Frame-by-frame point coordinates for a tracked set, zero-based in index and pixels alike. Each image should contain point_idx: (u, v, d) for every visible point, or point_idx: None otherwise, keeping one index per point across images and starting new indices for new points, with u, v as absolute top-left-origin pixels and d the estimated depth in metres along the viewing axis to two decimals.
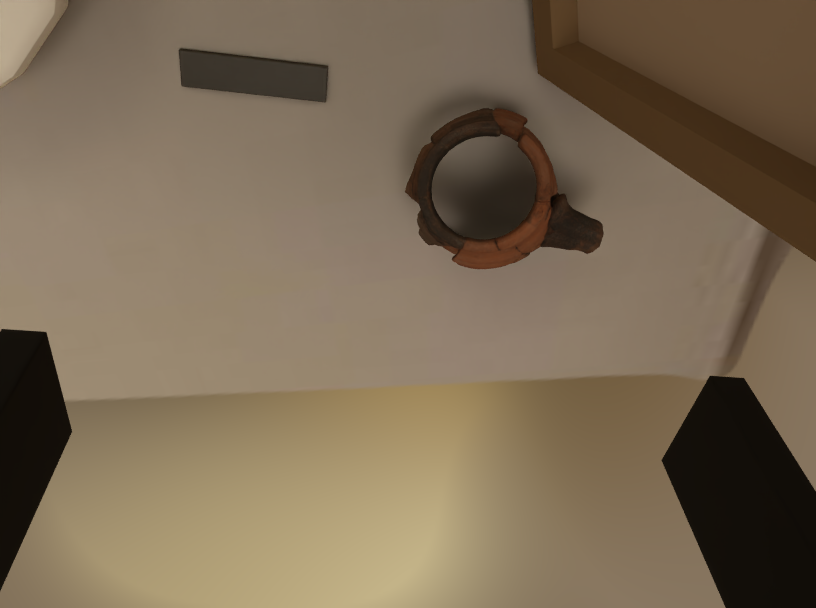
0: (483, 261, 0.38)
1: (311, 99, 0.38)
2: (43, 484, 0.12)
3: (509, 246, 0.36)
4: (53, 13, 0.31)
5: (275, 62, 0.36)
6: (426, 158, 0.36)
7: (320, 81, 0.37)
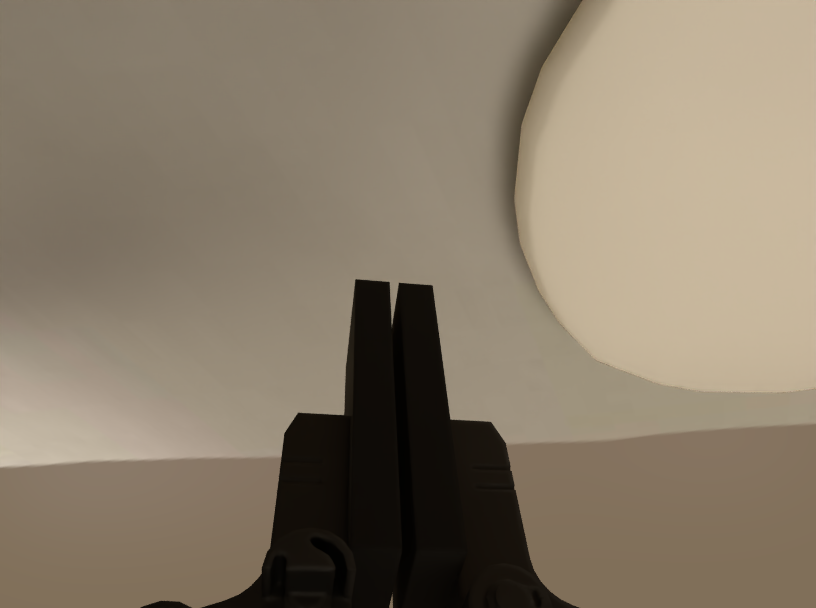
0: None
1: None
2: None
3: None
4: None
5: None
6: None
7: None
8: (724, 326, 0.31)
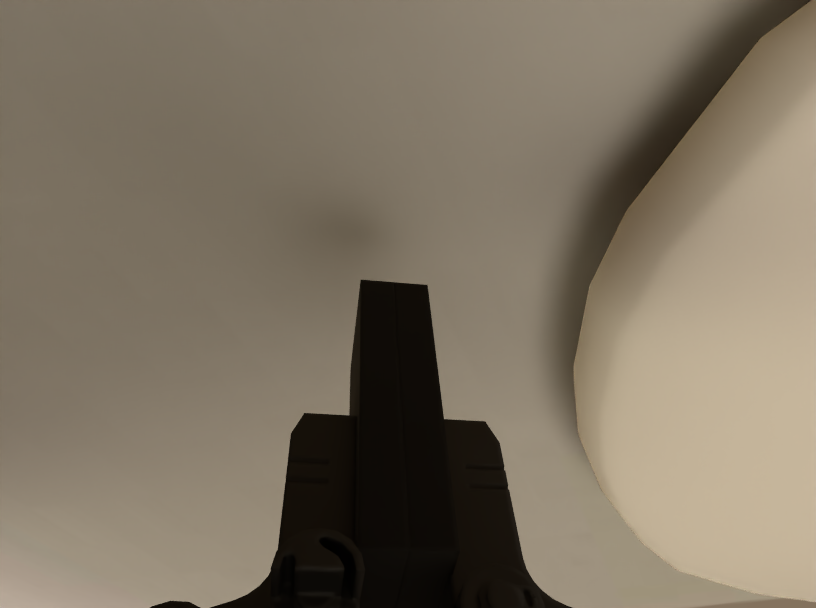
0: None
1: None
2: None
3: None
4: None
5: None
6: None
7: None
8: None
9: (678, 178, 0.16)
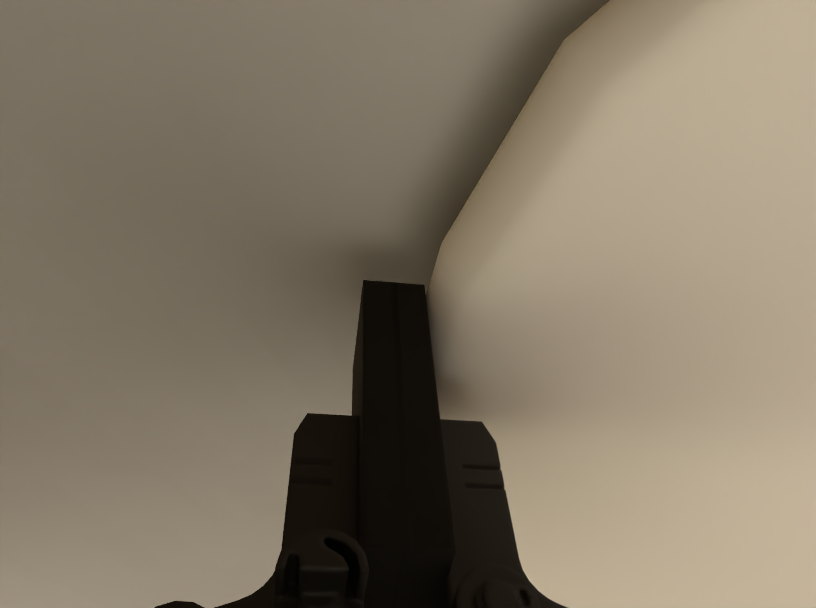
0: None
1: None
2: None
3: None
4: None
5: None
6: None
7: None
8: None
9: (478, 208, 0.13)
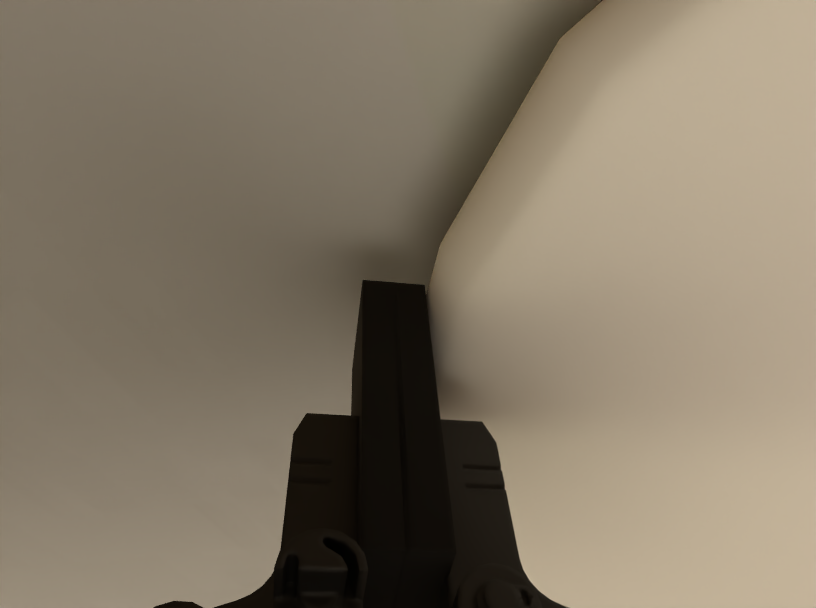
0: None
1: None
2: None
3: None
4: None
5: None
6: None
7: None
8: None
9: (476, 207, 0.13)
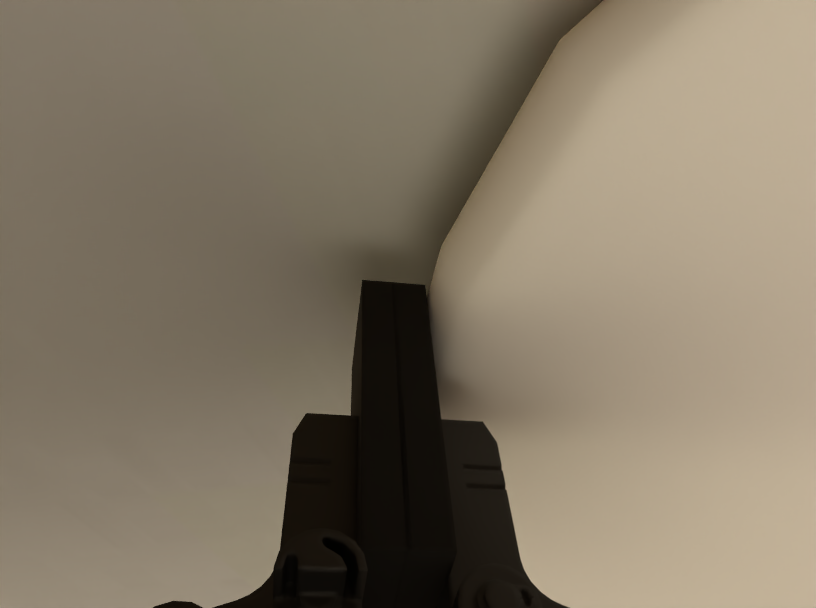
0: None
1: None
2: None
3: None
4: None
5: None
6: None
7: None
8: None
9: (477, 210, 0.13)
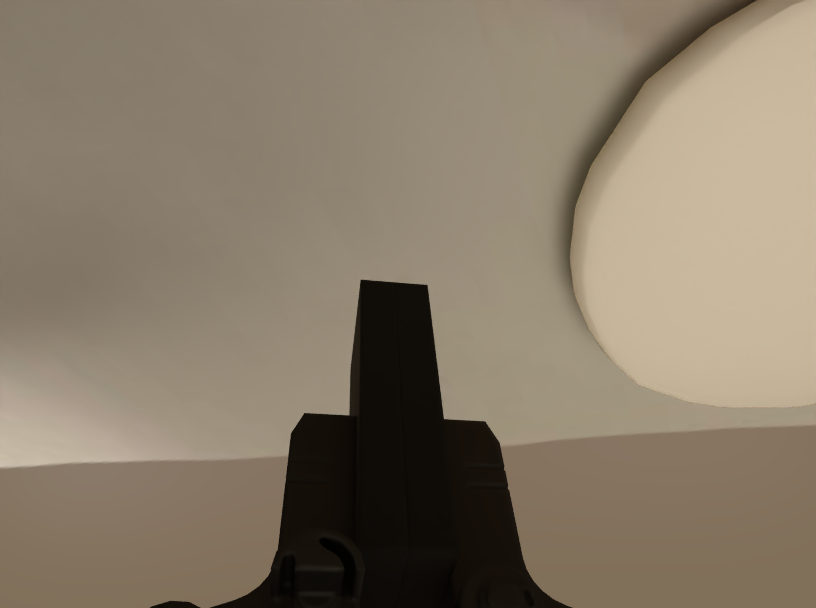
0: None
1: None
2: None
3: None
4: None
5: None
6: None
7: None
8: (740, 356, 0.39)
9: (612, 147, 0.33)
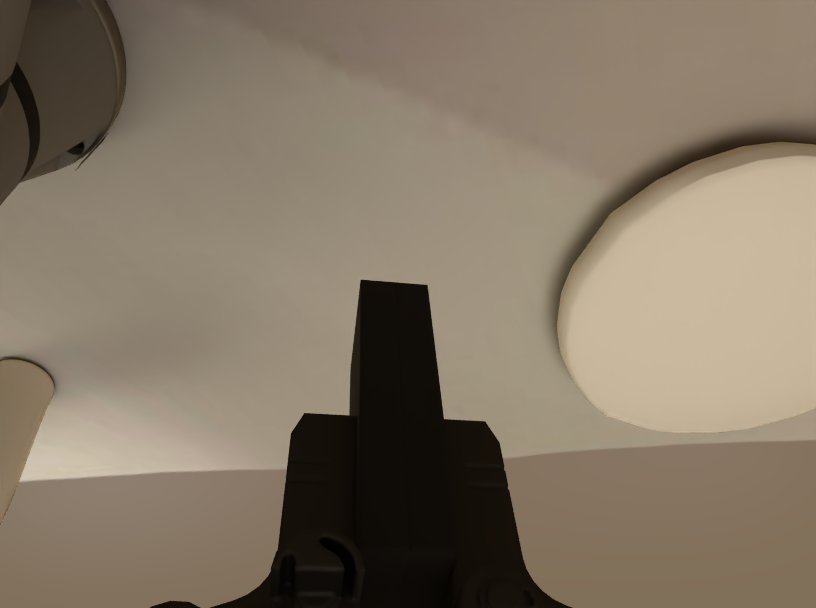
0: None
1: None
2: None
3: None
4: None
5: None
6: None
7: None
8: (680, 398, 0.53)
9: (587, 256, 0.47)
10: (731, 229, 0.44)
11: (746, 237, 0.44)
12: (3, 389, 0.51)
